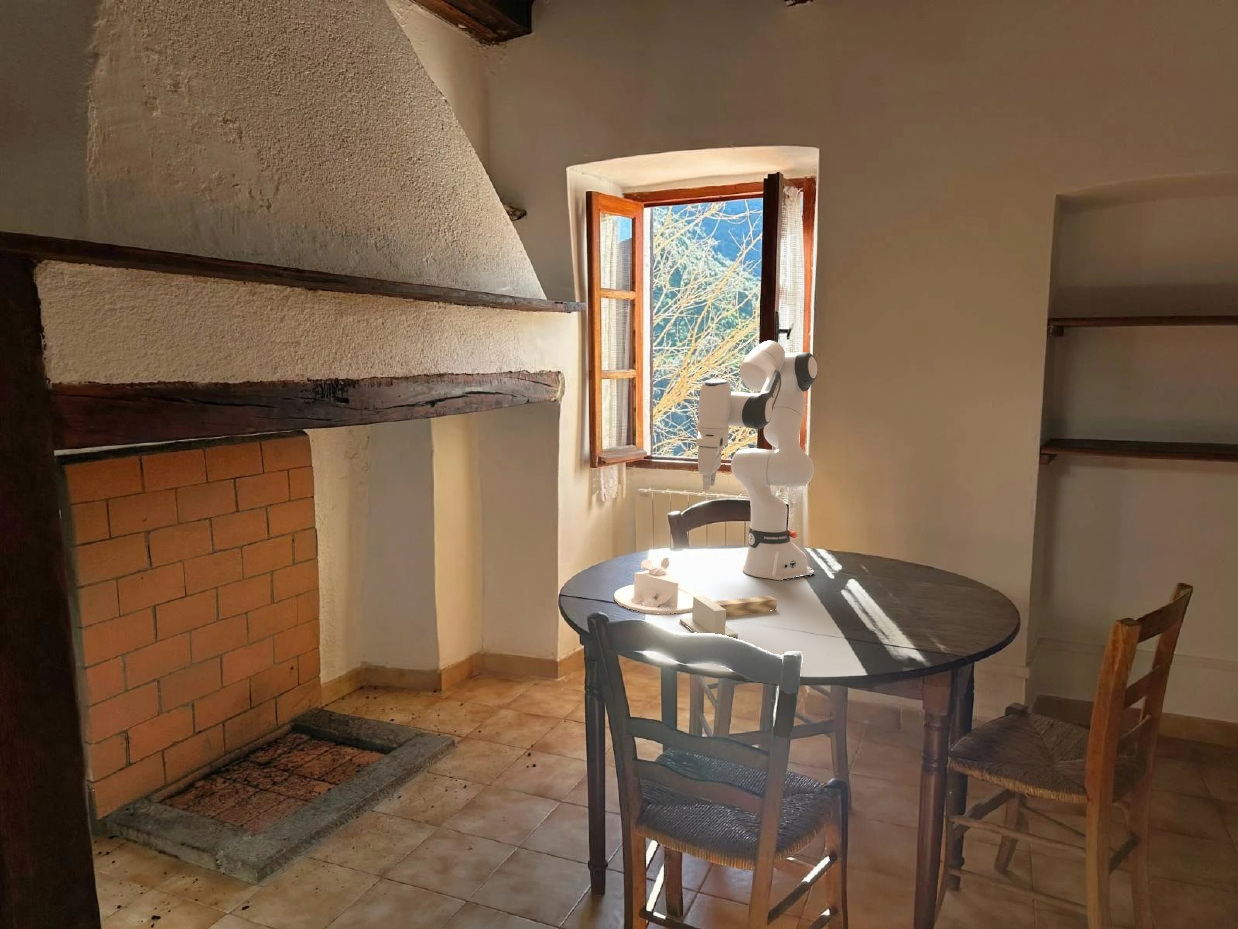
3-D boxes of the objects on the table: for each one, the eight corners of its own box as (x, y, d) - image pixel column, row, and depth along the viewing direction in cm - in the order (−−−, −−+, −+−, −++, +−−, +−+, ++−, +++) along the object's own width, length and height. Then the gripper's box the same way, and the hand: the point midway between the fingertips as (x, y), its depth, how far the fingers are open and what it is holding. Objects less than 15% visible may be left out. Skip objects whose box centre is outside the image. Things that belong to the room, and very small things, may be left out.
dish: (597, 594, 234) (598, 555, 232) (670, 583, 246) (672, 546, 245) (644, 620, 213) (645, 578, 211) (721, 607, 226) (723, 567, 224)
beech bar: (769, 608, 226) (769, 595, 226) (776, 612, 223) (776, 599, 223) (711, 614, 220) (711, 601, 219) (717, 618, 216) (718, 605, 216)
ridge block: (711, 619, 214) (712, 593, 213) (737, 637, 202) (739, 610, 201) (679, 622, 211) (680, 596, 210) (704, 641, 198) (706, 613, 197)
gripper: (706, 434, 239) (703, 481, 241) (695, 440, 220) (691, 491, 221) (727, 436, 238) (724, 483, 240) (718, 441, 218) (715, 493, 220)
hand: (708, 487), depth 230 cm, fingers open, 8 cm apart
